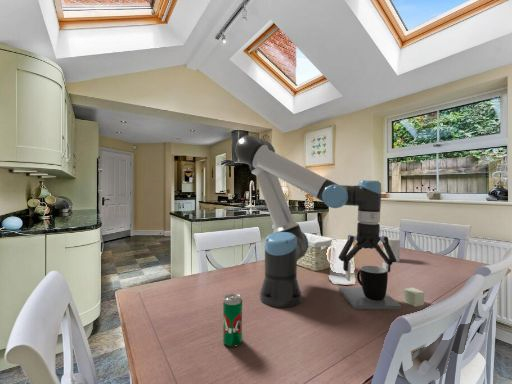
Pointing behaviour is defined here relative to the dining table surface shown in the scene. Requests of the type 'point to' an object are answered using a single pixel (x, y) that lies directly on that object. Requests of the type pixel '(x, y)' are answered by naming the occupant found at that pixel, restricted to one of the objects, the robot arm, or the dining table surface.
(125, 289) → the dining table surface
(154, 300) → the dining table surface
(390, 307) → the slate trivet
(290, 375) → the dining table surface
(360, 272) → the mug
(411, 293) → the sage block
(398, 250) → the cup
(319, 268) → the storage basket
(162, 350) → the dining table surface
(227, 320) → the soda can
